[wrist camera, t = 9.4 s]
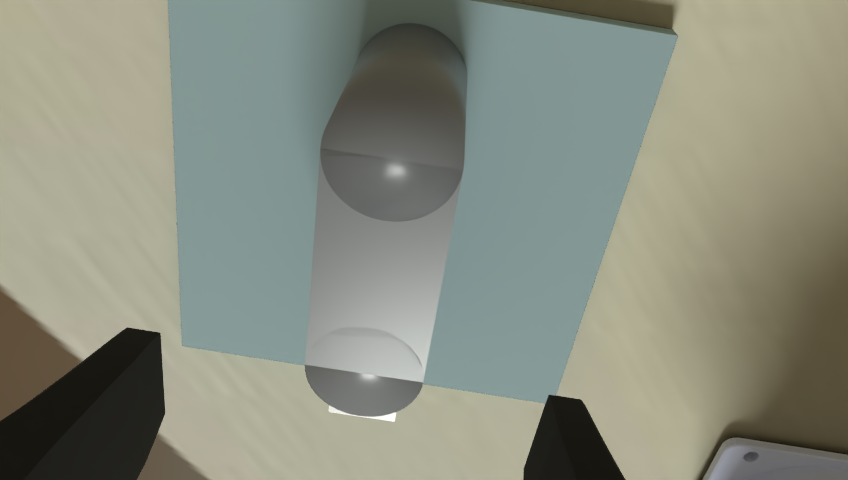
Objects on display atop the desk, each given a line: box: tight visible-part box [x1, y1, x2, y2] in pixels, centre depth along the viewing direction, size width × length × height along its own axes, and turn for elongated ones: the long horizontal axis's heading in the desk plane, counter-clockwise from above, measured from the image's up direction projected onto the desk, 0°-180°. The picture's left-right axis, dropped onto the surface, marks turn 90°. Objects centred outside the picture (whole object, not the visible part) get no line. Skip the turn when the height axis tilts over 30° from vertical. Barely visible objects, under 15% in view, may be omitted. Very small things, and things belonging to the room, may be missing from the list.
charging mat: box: [168, 0, 678, 404], centre depth 21 cm, size 13×13×1 cm
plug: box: [305, 23, 467, 422], centre depth 19 cm, size 3×11×5 cm, turn 172°
